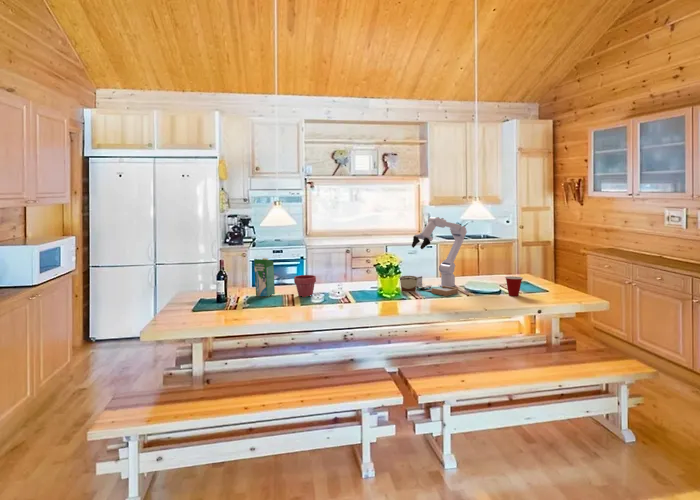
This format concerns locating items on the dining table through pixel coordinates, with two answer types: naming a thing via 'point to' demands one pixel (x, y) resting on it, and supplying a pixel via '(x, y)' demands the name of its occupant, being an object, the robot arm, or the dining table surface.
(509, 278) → the plastic cup
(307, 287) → the plant pot
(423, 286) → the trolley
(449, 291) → the dock
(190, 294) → the dining table surface
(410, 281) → the food container
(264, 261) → the milk carton
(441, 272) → the robot arm
